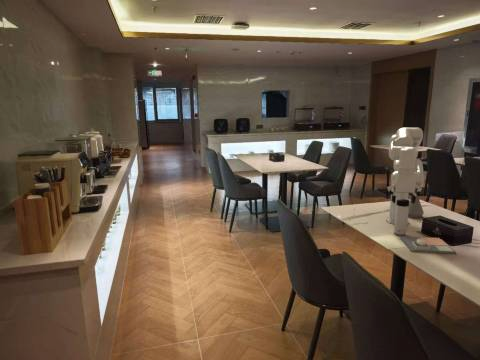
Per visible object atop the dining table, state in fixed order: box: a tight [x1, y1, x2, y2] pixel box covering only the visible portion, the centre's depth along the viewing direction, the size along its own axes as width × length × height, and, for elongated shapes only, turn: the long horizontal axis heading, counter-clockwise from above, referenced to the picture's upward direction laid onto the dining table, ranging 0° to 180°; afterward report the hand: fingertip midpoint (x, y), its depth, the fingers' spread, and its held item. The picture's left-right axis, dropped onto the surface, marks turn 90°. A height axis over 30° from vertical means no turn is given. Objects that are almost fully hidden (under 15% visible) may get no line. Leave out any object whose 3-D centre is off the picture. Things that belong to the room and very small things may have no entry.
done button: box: [416, 239, 426, 246], centre depth 166 cm, size 4×4×2 cm
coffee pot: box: [408, 193, 425, 219], centre depth 221 cm, size 21×12×15 cm, turn 178°
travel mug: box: [393, 199, 410, 237], centre depth 184 cm, size 6×7×20 cm
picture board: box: [399, 236, 457, 255], centre depth 170 cm, size 18×20×2 cm
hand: (403, 202), depth 182 cm, fingers open, 9 cm apart
